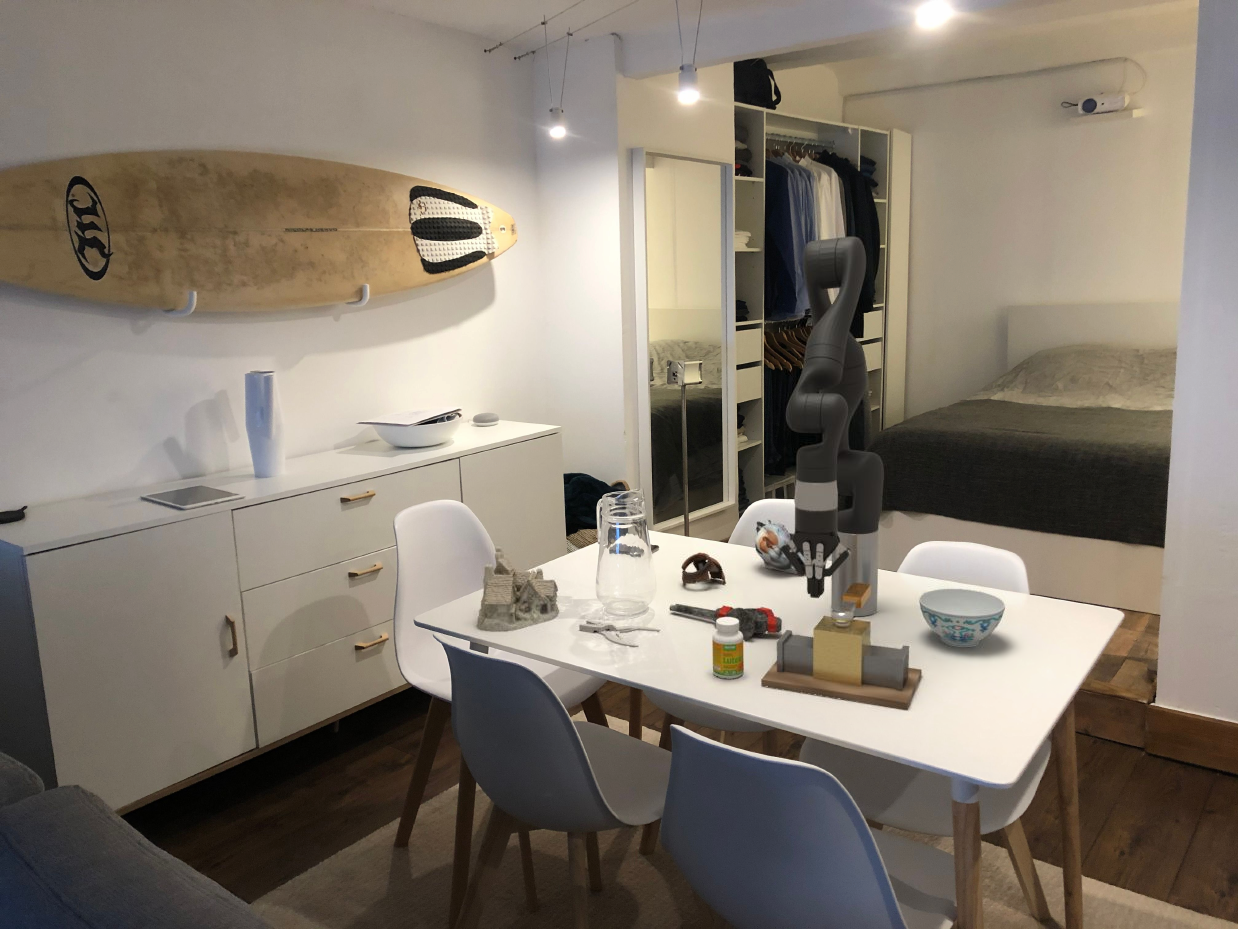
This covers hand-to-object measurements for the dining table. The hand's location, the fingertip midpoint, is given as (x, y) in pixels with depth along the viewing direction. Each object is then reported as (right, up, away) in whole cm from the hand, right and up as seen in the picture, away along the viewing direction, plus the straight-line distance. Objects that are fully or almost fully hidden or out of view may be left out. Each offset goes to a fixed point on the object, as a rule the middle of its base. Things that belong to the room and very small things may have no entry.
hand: (815, 596), depth 172 cm
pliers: (-36, -10, +14) cm, 40 cm away
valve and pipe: (+2, -13, -11) cm, 17 cm away
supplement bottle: (-17, -13, -6) cm, 22 cm away
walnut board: (+2, -13, -11) cm, 17 cm away
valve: (-13, -8, +19) cm, 24 cm away
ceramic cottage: (-57, -8, +25) cm, 63 cm away
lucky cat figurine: (+4, -1, +51) cm, 51 cm away
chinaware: (+28, -9, +4) cm, 30 cm away
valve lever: (+5, -1, -8) cm, 9 cm away
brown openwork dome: (-17, -3, +43) cm, 46 cm away
